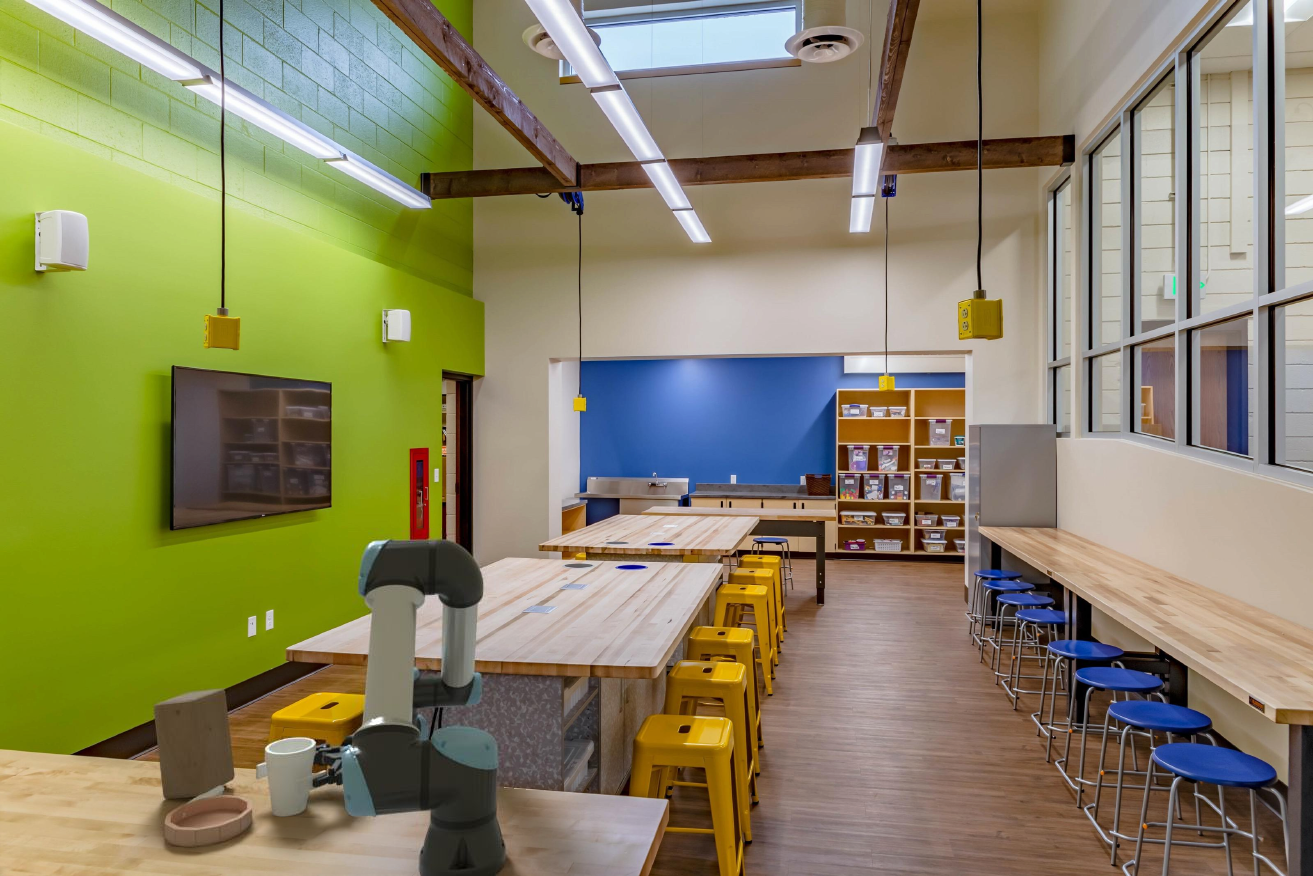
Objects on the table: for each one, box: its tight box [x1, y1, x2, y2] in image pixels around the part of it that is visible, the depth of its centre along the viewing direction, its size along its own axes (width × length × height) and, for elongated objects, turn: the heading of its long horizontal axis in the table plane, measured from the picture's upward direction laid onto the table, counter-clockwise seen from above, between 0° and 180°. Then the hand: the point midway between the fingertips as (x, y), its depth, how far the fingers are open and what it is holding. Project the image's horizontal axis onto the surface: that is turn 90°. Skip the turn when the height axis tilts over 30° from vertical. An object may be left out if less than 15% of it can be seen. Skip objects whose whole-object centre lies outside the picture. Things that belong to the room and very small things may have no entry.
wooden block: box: [153, 688, 236, 800], centre depth 170 cm, size 10×10×20 cm
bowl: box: [163, 794, 253, 848], centre depth 154 cm, size 15×15×3 cm
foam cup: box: [264, 737, 317, 817], centre depth 162 cm, size 10×9×13 cm
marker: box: [183, 785, 227, 818], centre depth 164 cm, size 3×2×16 cm
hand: (275, 780), depth 160 cm, fingers open, 13 cm apart
